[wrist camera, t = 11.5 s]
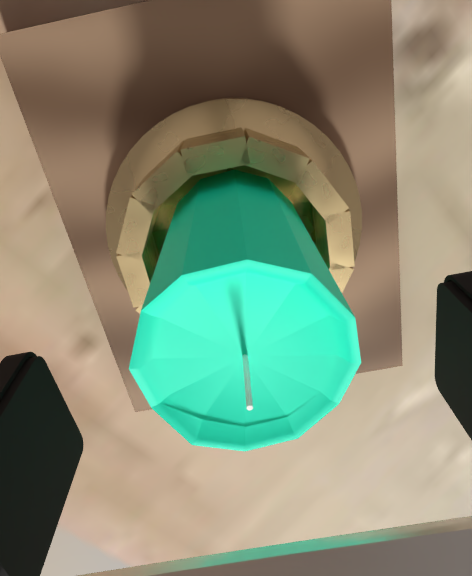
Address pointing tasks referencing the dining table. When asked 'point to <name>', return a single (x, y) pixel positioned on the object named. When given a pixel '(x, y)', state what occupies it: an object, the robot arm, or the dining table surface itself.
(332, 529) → the dining table surface
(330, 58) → the walnut board
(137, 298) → the candle holder
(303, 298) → the candle
